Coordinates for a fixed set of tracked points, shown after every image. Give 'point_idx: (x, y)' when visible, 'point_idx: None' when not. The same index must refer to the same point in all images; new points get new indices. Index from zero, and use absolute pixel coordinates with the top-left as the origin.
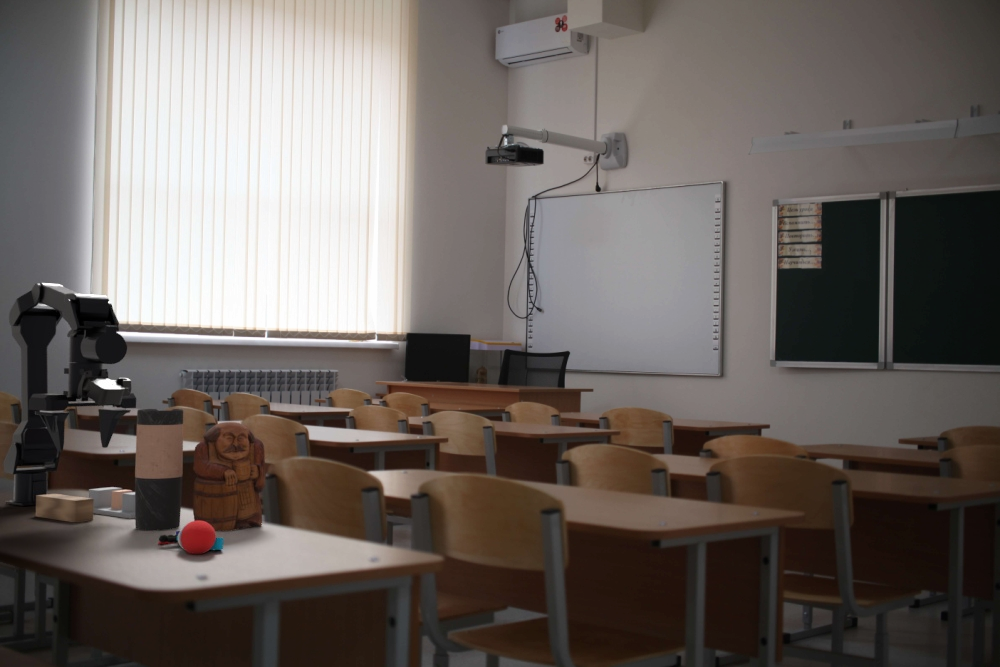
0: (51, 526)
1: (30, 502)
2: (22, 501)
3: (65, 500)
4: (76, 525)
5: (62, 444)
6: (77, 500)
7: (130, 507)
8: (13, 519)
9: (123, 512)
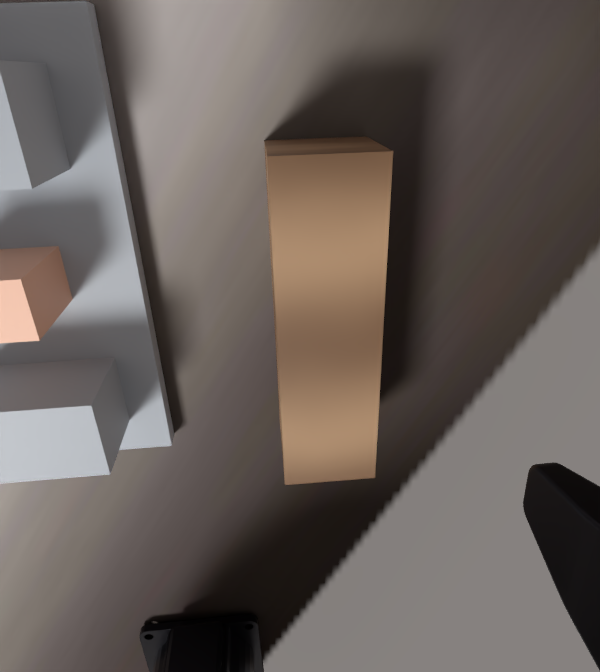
0: (513, 102)
1: (229, 627)
2: (244, 644)
3: (385, 254)
4: (429, 24)
5: (596, 498)
6: (381, 152)
7: (40, 85)
8: (455, 402)
9: (90, 104)
